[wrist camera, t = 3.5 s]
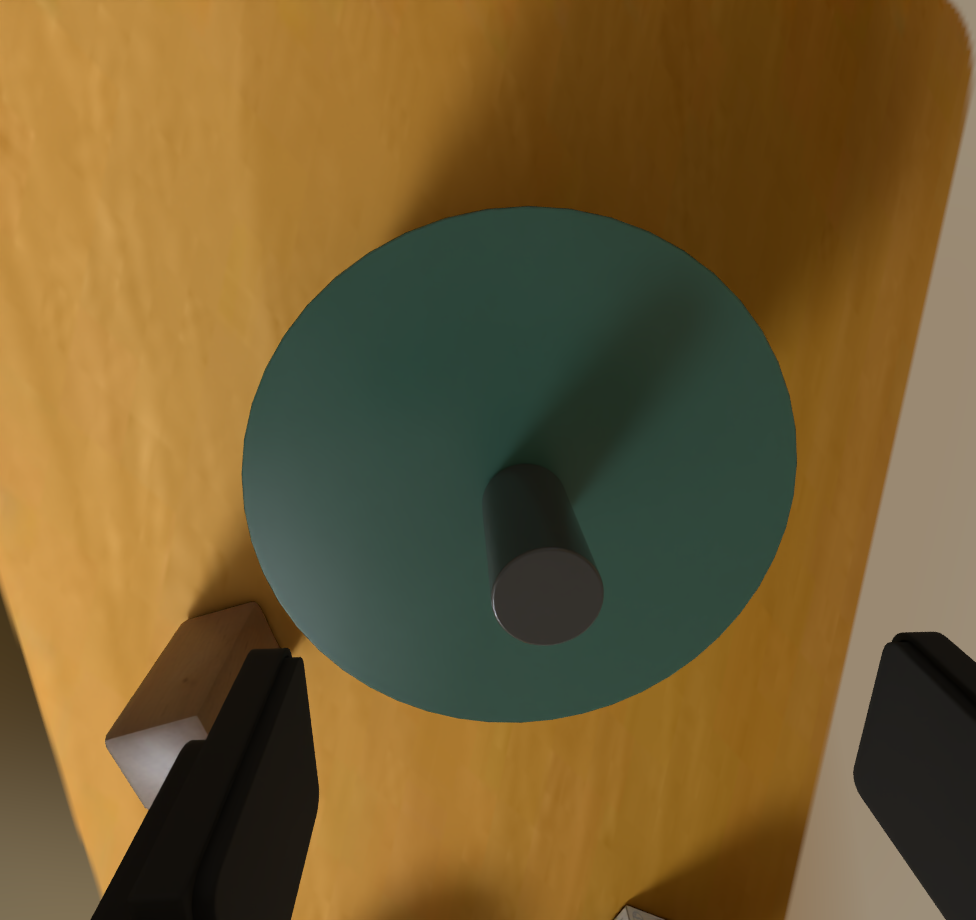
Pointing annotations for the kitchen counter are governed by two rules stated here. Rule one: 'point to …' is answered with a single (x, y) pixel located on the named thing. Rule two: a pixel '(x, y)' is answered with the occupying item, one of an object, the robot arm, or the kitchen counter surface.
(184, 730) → the wooden block
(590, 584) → the tin lid
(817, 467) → the kitchen counter surface
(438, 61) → the kitchen counter surface
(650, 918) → the light bulb box
